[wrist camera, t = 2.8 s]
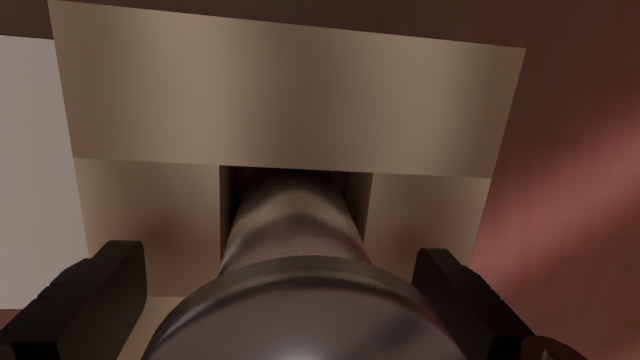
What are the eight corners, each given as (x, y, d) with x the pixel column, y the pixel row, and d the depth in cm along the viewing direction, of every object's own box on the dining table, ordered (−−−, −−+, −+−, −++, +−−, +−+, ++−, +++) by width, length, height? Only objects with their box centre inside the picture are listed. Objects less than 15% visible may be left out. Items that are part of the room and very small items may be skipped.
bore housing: (463, 51, 14) (526, 48, 11) (408, 315, 19) (438, 377, 15) (117, 17, 13) (47, -1, 9) (147, 316, 17) (110, 387, 13)
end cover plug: (361, 137, 15) (533, 304, 5) (346, 252, 17) (445, 550, 7) (226, 128, 15) (74, 304, 4) (227, 249, 16) (127, 581, 6)
